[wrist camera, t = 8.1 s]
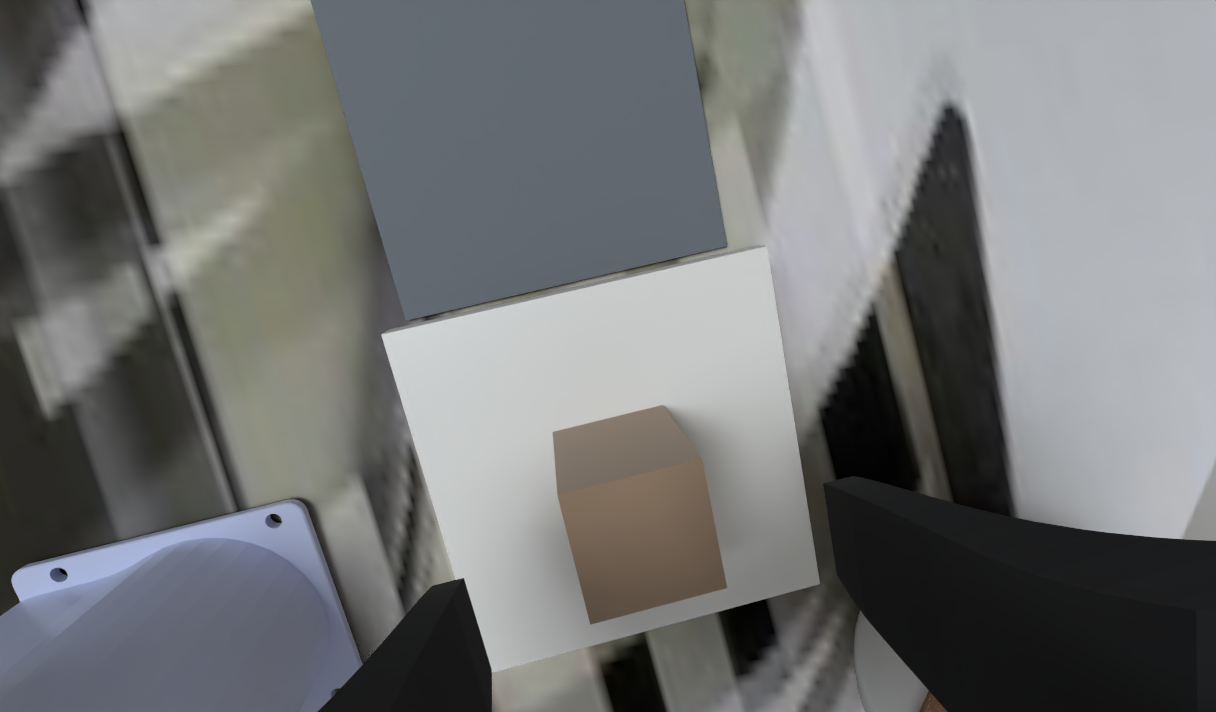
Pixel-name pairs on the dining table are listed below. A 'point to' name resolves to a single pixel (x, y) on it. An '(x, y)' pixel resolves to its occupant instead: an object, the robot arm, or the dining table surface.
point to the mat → (523, 140)
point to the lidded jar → (886, 676)
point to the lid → (611, 453)
